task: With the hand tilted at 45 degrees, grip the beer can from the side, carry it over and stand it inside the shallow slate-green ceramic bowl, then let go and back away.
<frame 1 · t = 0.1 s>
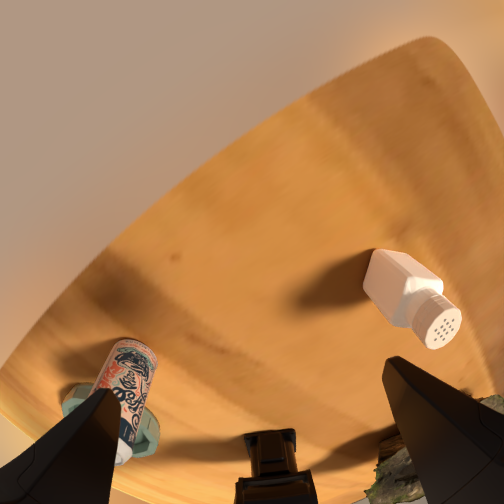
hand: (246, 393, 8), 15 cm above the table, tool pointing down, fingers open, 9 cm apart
pepper shaker: (383, 269, 23), on the table
driftwood piece: (425, 421, 34), on the table
bowl: (113, 416, 29), on the table
beer can: (136, 353, 25), on the table
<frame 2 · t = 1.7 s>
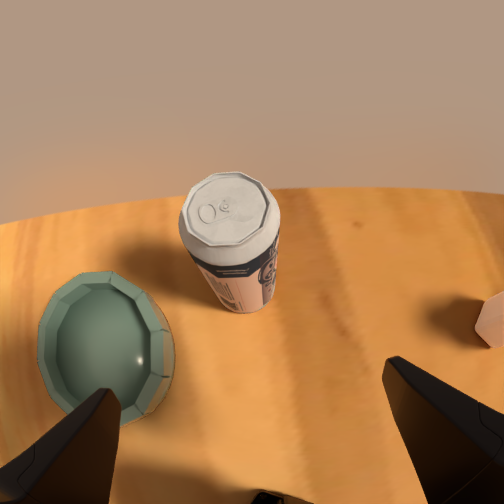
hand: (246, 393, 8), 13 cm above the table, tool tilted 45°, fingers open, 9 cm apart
pepper shaker: (487, 325, 20), on the table
bowl: (107, 352, 21), on the table
beer can: (245, 286, 23), on the table
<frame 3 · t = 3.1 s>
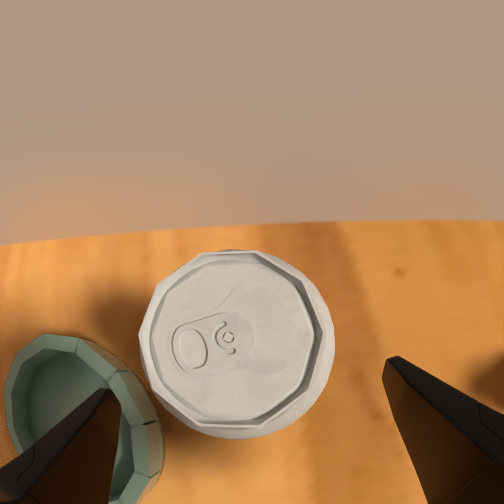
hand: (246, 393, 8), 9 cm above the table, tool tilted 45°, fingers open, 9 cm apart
bowl: (83, 427, 14), on the table
beer can: (254, 361, 17), on the table
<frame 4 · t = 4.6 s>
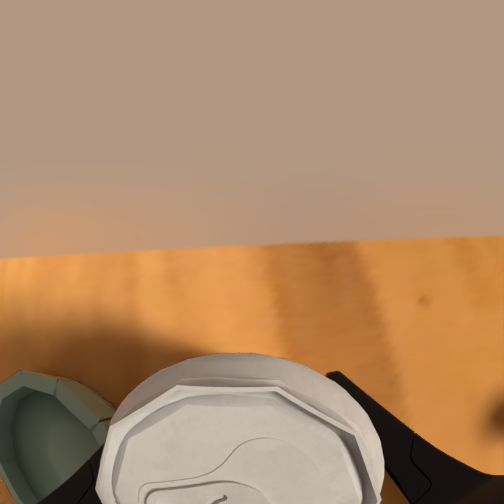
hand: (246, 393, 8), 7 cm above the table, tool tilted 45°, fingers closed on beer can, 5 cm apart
bowl: (72, 465, 11), on the table
beer can: (258, 408, 13), on the table, touching gripper
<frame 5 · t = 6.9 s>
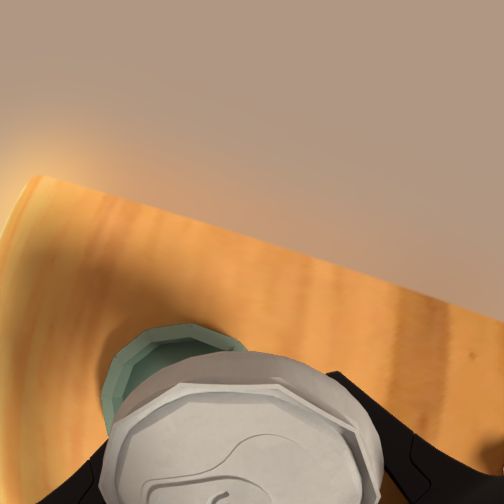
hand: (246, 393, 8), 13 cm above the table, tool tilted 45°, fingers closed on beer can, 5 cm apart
bowl: (192, 410, 19), on the table
beer can: (259, 407, 14), point 6 cm above the table, touching gripper
when the fingers open (9 cm above the table, at t = 9.1 s): beer can drops 1 cm, resting on bowl.
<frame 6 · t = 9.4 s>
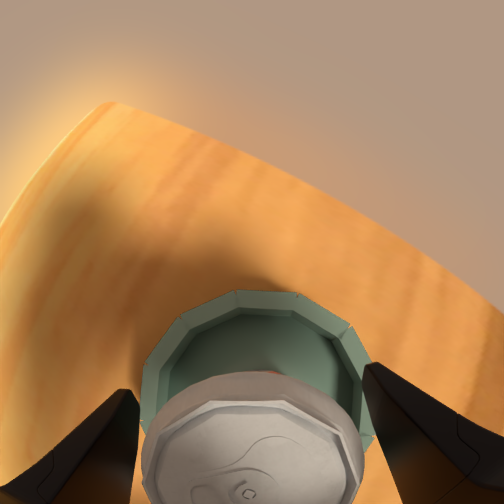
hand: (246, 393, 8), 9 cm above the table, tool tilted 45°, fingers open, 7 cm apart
bowl: (259, 403, 16), on the table
beer can: (259, 407, 15), point 1 cm above the table, touching bowl
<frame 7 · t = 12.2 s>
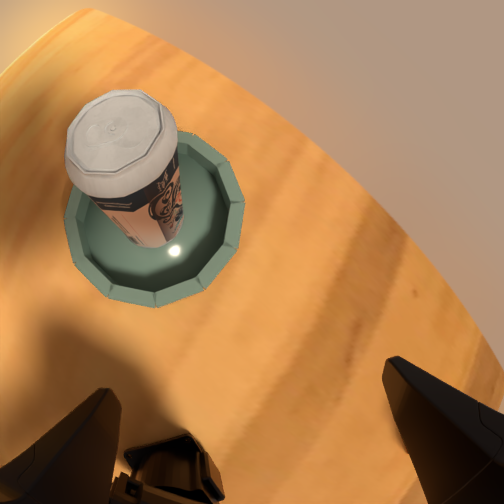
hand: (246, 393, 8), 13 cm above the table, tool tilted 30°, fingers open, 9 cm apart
bowl: (154, 219, 21), on the table
beer can: (153, 218, 20), point 1 cm above the table, touching bowl
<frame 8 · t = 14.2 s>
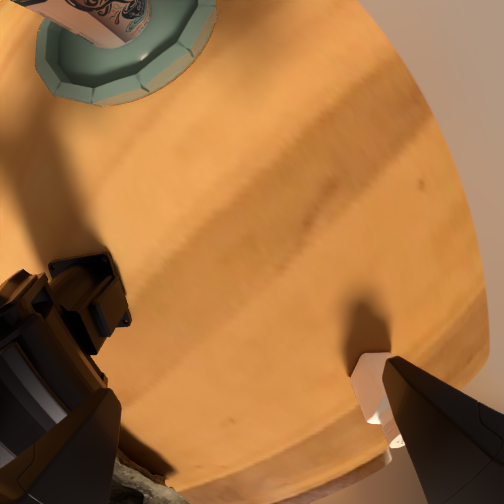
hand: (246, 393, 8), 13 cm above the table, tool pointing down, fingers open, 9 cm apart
pepper shaker: (369, 364, 25), on the table
driftwood piece: (122, 449, 30), on the table
bowl: (127, 25, 14), on the table
beer can: (122, 23, 13), point 1 cm above the table, touching bowl
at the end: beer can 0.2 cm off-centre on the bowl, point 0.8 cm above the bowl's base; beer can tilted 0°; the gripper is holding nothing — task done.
